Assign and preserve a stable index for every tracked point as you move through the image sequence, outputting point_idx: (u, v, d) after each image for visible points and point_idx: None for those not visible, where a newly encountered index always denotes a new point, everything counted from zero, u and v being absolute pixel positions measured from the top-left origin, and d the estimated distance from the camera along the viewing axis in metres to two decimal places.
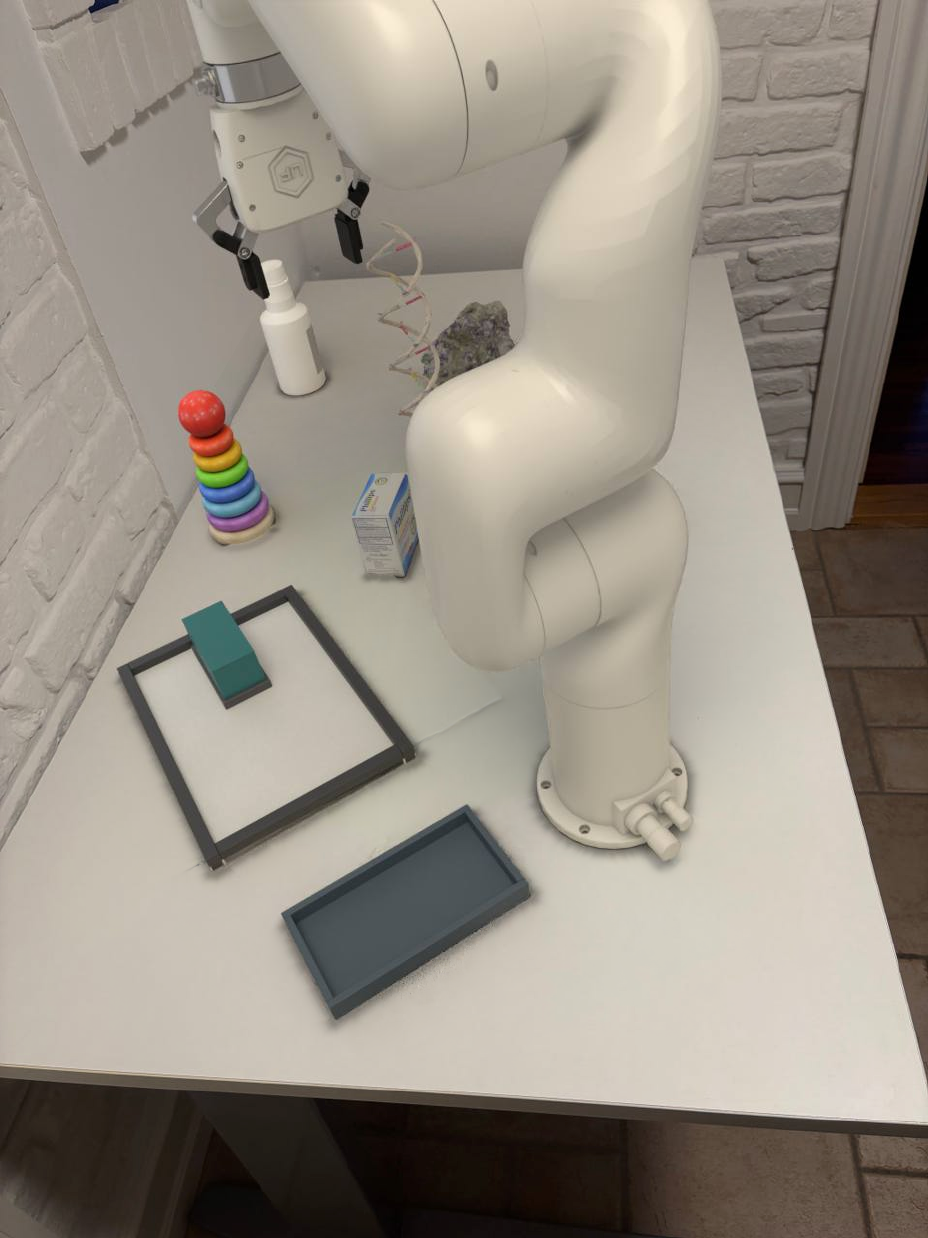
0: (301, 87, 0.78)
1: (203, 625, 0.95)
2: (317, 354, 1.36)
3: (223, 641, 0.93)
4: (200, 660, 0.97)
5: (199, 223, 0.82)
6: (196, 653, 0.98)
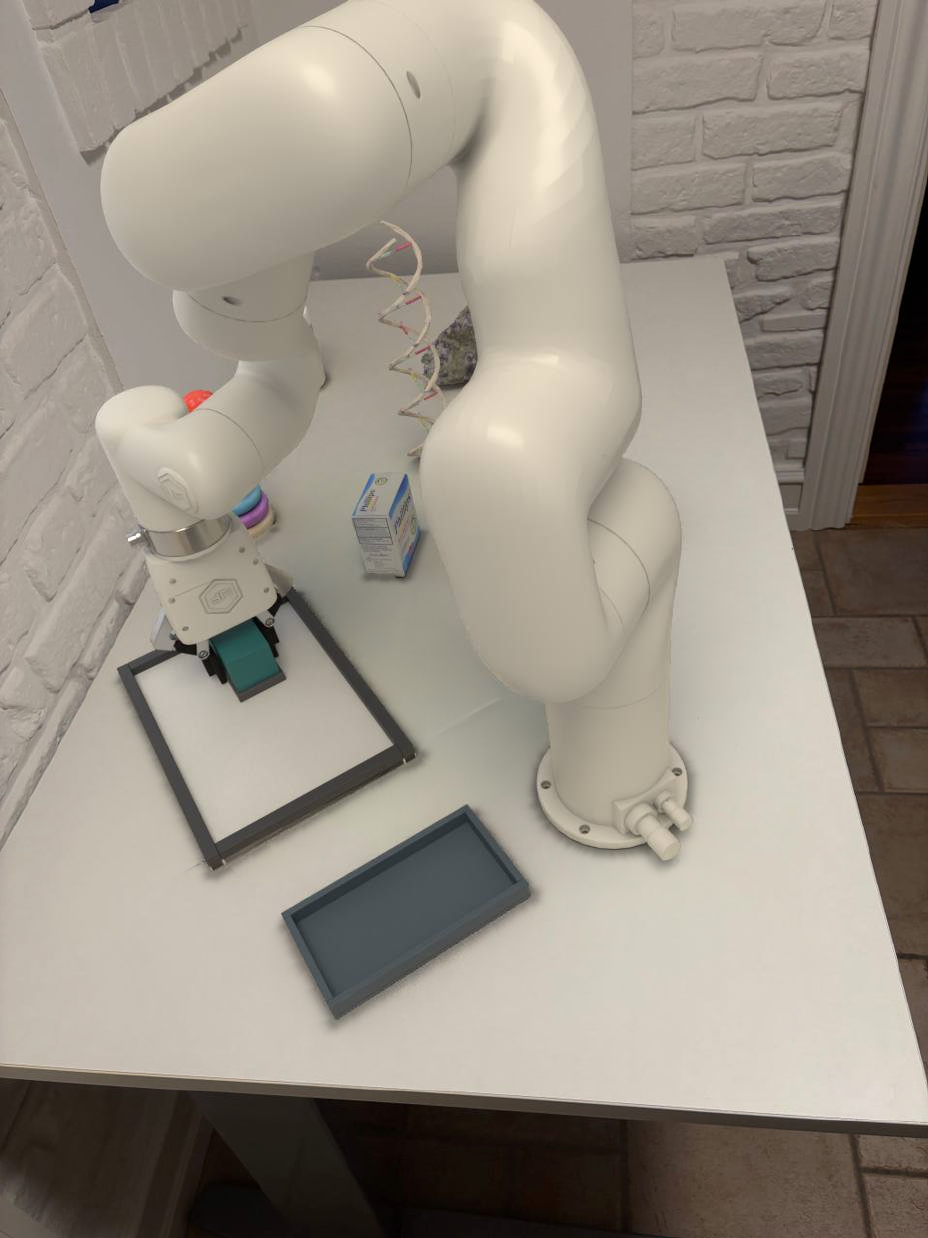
0: (228, 533, 0.85)
1: None
2: None
3: (238, 634, 0.93)
4: None
5: (157, 648, 0.90)
6: None
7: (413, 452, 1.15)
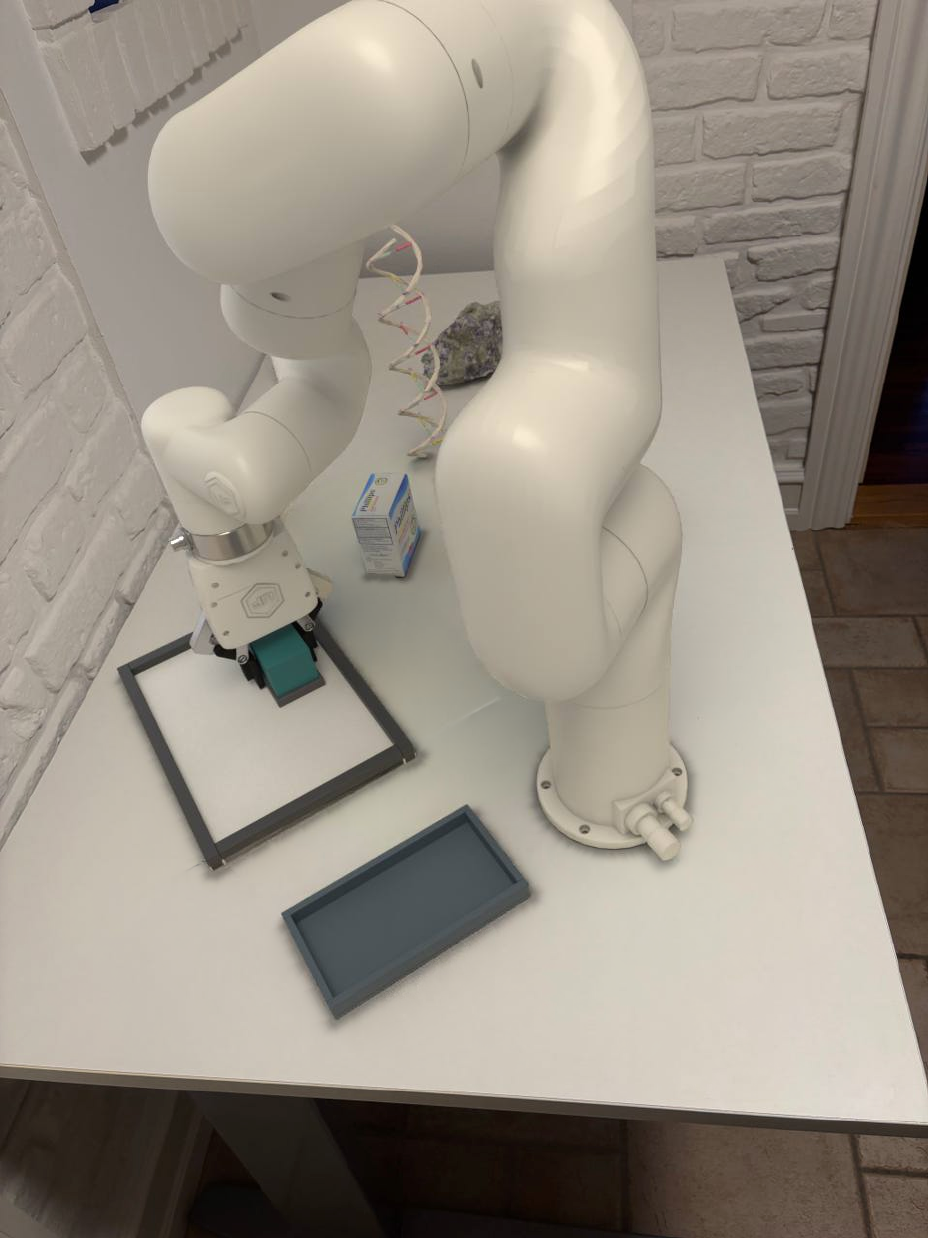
0: (271, 536, 0.84)
1: None
2: None
3: (277, 639, 0.92)
4: None
5: (197, 652, 0.89)
6: None
7: (413, 452, 1.15)
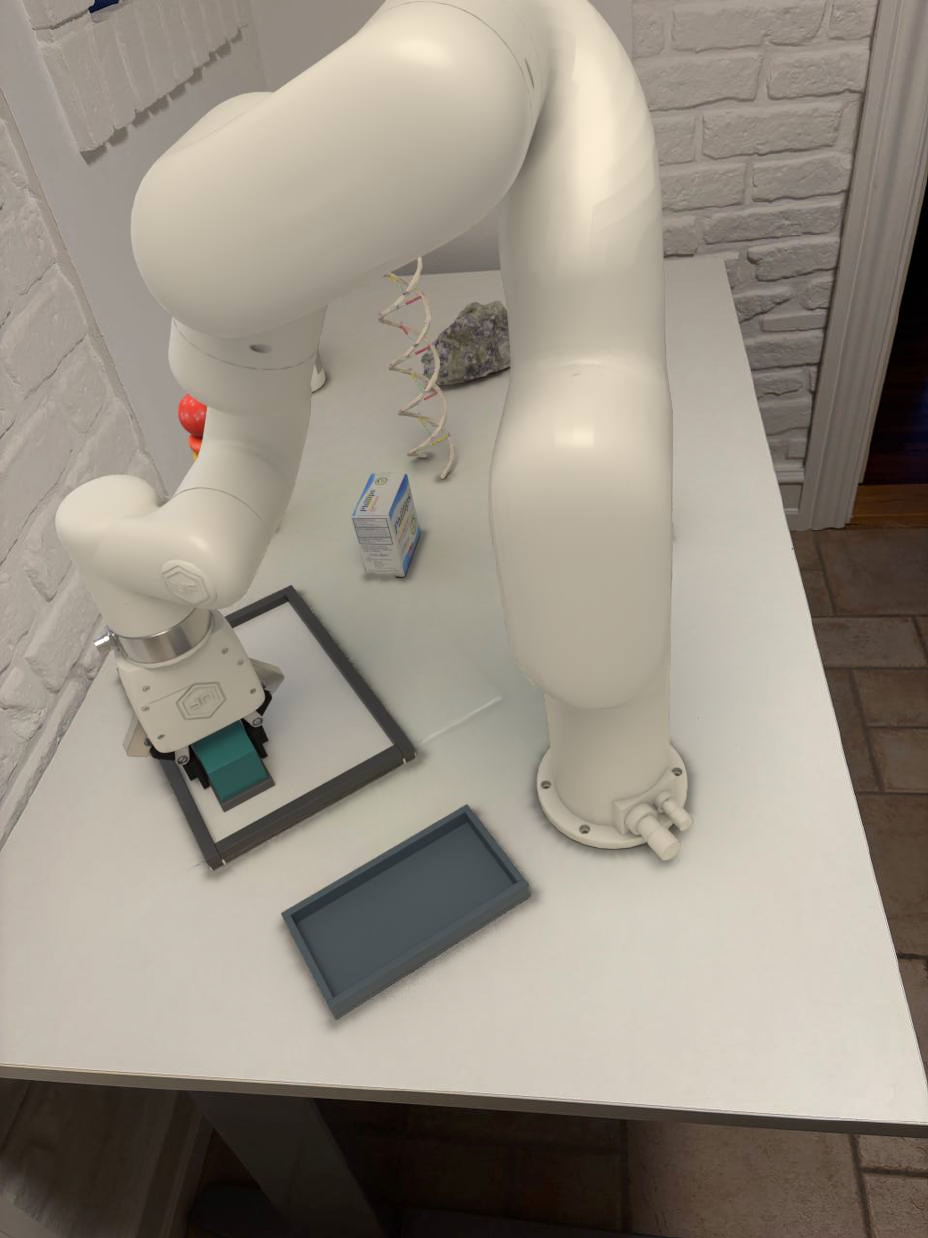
0: (208, 634, 0.76)
1: None
2: (317, 354, 1.36)
3: (221, 737, 0.84)
4: (196, 752, 0.88)
5: (131, 755, 0.81)
6: (191, 744, 0.89)
7: (413, 452, 1.15)
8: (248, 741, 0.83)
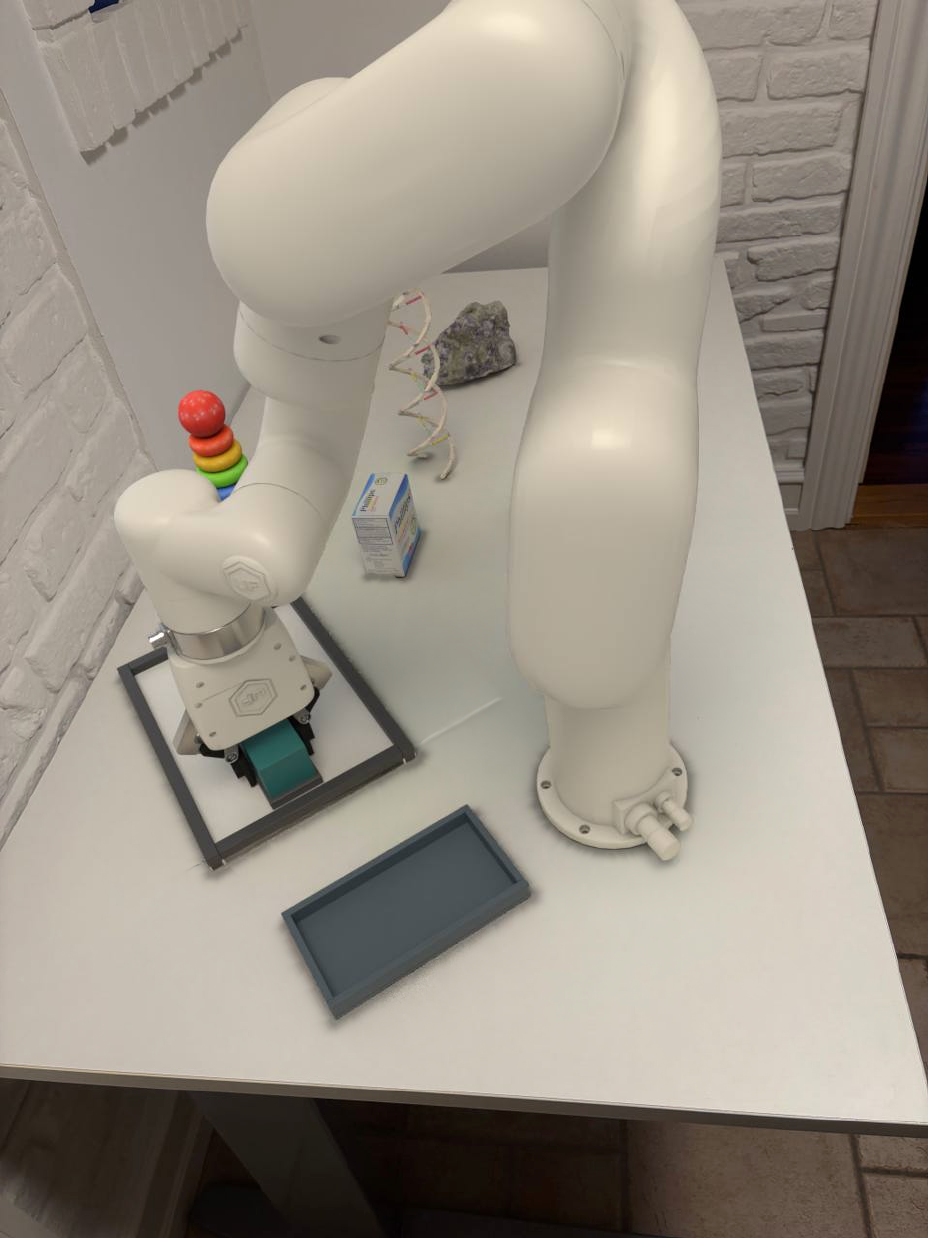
0: (262, 630, 0.75)
1: None
2: None
3: (270, 734, 0.83)
4: None
5: (181, 753, 0.80)
6: None
7: (413, 452, 1.15)
8: (297, 738, 0.82)
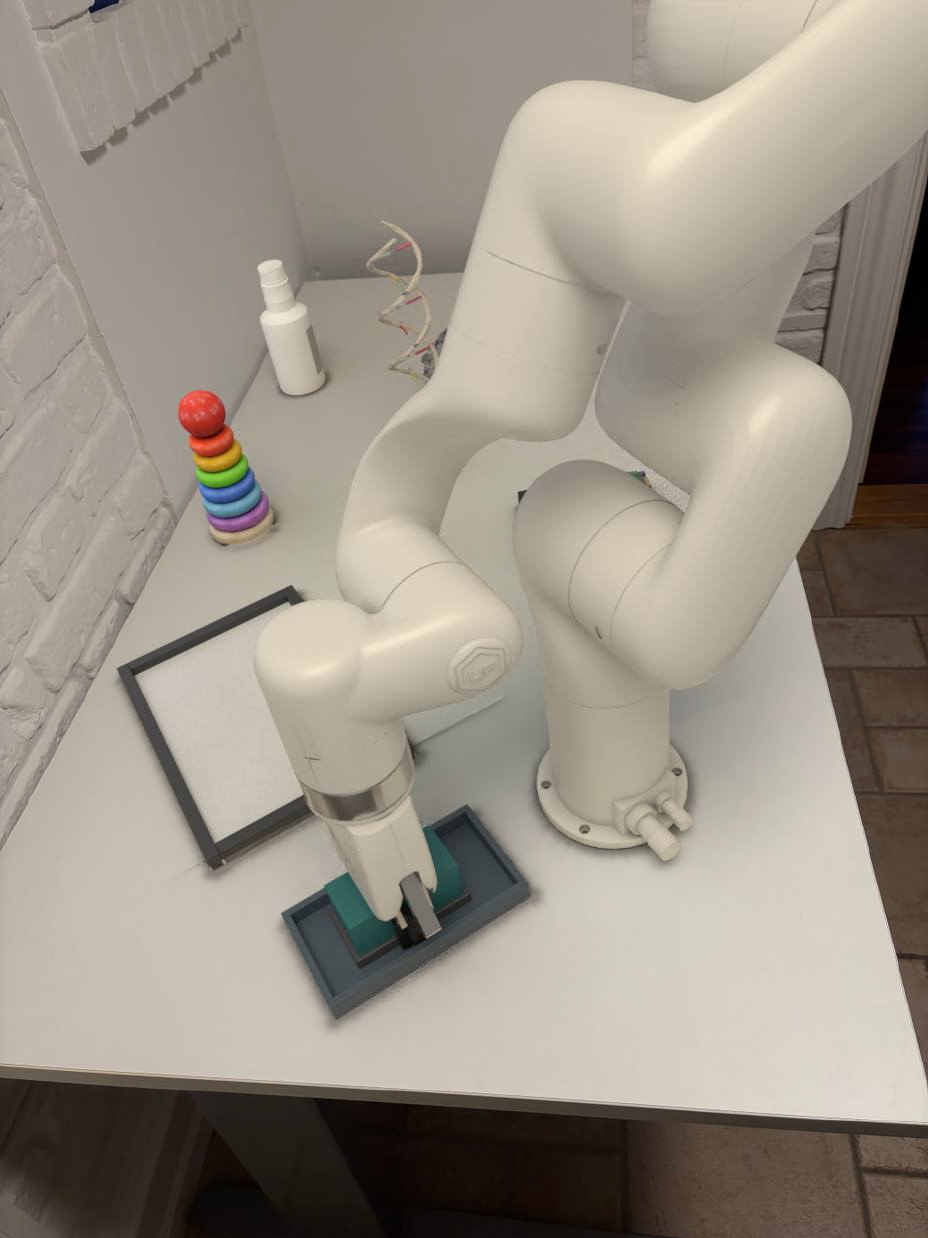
0: (341, 823, 0.61)
1: None
2: (317, 354, 1.36)
3: None
4: None
5: None
6: None
7: None
8: (362, 919, 0.69)
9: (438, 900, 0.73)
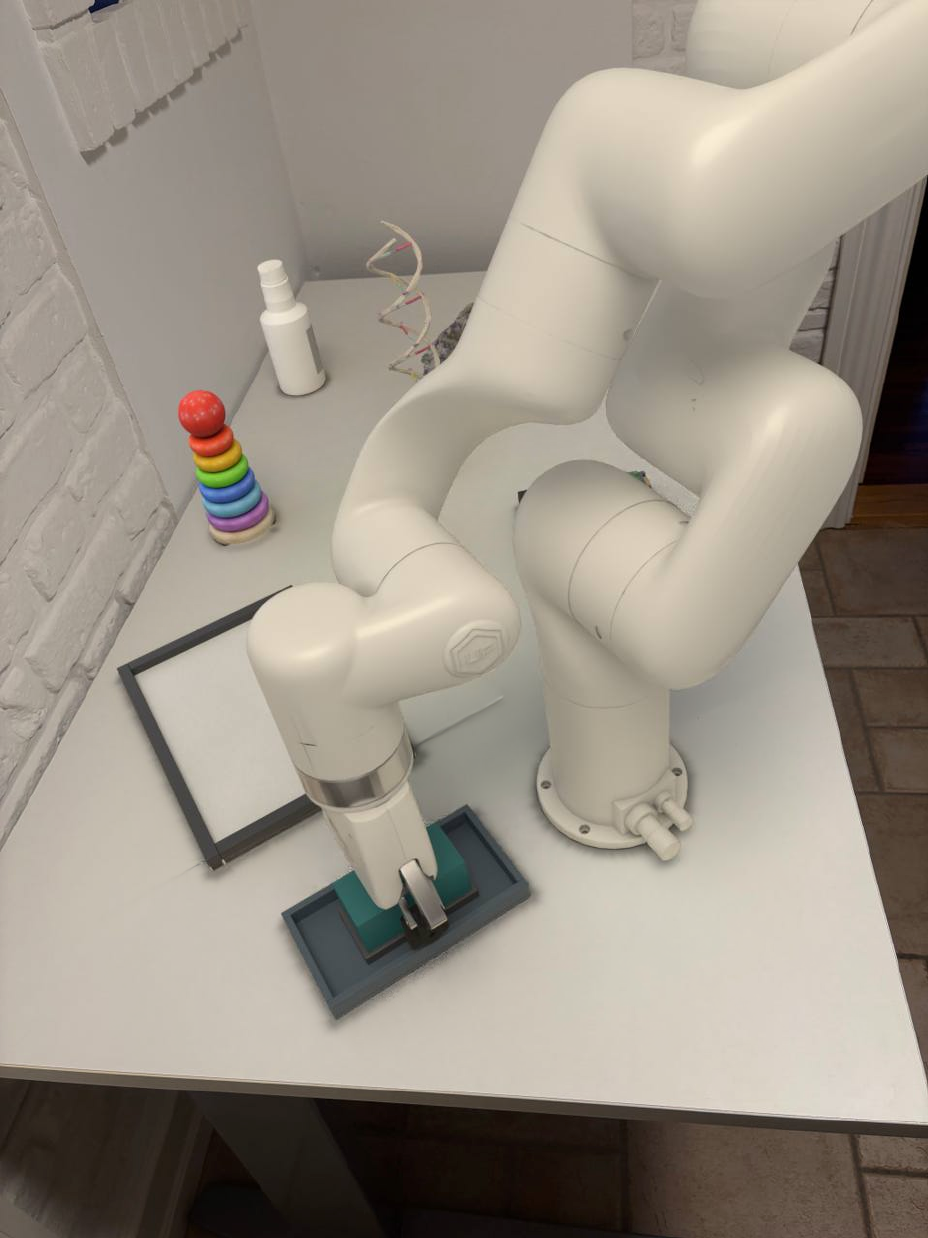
0: (339, 810, 0.60)
1: None
2: (317, 354, 1.36)
3: None
4: None
5: None
6: None
7: None
8: (370, 916, 0.69)
9: (446, 897, 0.73)
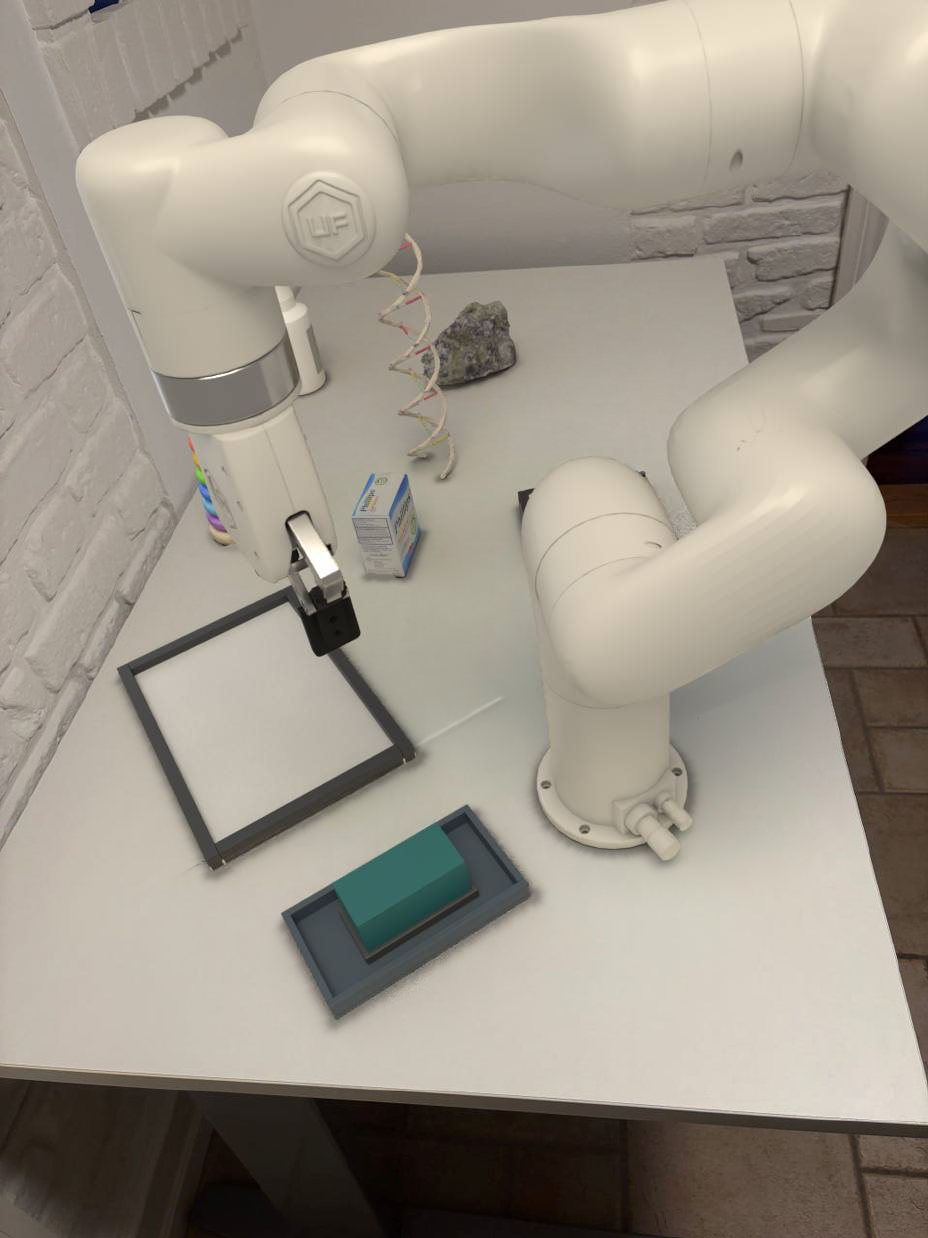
0: (207, 430, 0.50)
1: (419, 851, 0.73)
2: (317, 354, 1.36)
3: (382, 884, 0.71)
4: None
5: None
6: None
7: (413, 452, 1.15)
8: (370, 916, 0.69)
9: (446, 897, 0.73)
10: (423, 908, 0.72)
